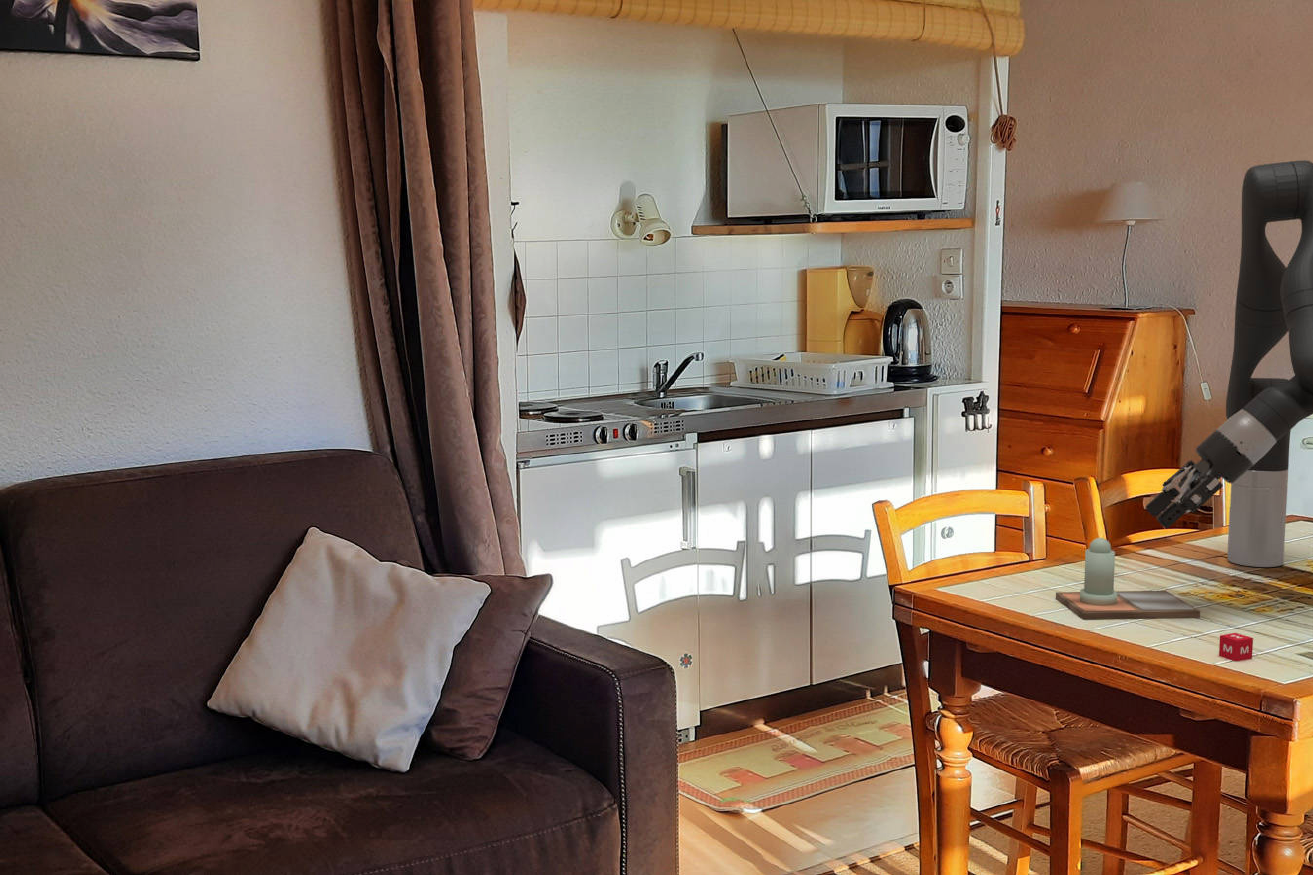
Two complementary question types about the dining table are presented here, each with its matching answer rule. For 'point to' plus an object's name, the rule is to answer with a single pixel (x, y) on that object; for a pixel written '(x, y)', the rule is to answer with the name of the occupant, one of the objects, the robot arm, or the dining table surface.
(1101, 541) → the pawn
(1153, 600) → the brown flat rectangular board
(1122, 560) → the dining table surface
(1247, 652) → the dice
